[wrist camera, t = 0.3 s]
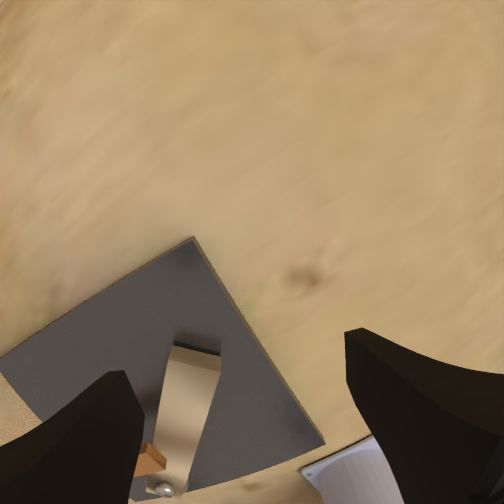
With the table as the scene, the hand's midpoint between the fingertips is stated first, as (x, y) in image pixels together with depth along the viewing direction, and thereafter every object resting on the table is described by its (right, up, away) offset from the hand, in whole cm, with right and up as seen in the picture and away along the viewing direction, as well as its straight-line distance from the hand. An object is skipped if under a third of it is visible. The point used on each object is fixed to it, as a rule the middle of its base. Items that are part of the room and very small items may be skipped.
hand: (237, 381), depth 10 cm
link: (-5, -9, +10) cm, 15 cm away
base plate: (-7, -8, +11) cm, 16 cm away
